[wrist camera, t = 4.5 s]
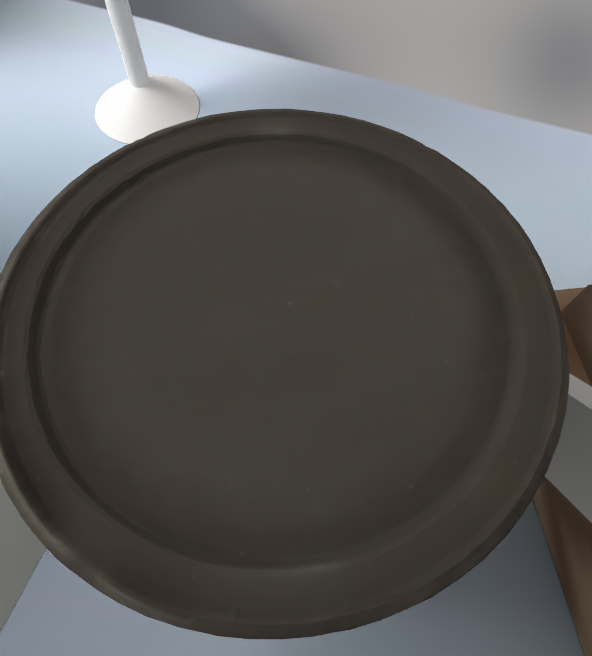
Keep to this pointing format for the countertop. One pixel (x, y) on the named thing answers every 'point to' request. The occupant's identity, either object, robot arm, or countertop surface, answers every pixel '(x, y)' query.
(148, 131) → the champagne flute
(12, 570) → the robot arm
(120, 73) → the countertop surface
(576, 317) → the display stand
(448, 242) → the coffee can
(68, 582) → the countertop surface
